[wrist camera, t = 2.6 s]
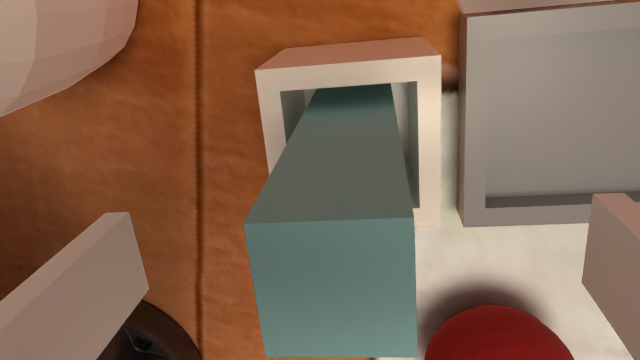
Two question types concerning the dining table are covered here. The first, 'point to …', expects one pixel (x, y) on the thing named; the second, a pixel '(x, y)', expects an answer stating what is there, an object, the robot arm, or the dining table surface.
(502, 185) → the tray
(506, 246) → the dining table surface
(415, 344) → the peg
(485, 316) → the apple
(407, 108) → the white open box
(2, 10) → the bottle
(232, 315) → the dining table surface
